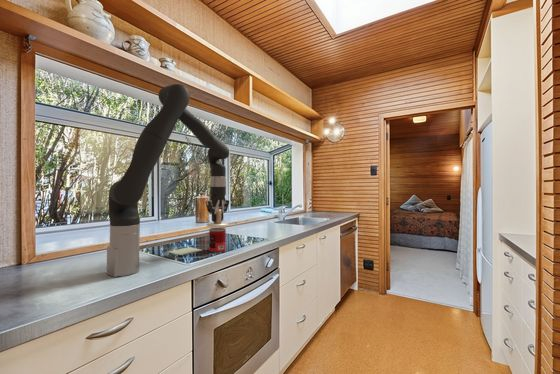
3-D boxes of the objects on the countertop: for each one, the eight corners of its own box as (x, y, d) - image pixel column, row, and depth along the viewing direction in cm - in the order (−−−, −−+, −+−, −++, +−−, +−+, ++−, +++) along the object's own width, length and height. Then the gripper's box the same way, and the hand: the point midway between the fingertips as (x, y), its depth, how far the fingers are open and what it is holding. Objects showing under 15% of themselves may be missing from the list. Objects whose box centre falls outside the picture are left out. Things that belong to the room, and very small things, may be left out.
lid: (216, 227, 117) (216, 210, 117) (202, 225, 123) (202, 209, 123) (232, 225, 125) (232, 209, 125) (218, 223, 131) (218, 208, 131)
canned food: (227, 249, 127) (227, 227, 128) (222, 253, 119) (222, 230, 120) (212, 249, 128) (212, 227, 128) (206, 253, 120) (206, 229, 120)
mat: (180, 256, 114) (180, 255, 114) (167, 253, 120) (167, 251, 120) (202, 251, 124) (202, 249, 124) (189, 248, 129) (189, 247, 129)
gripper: (211, 185, 116) (211, 223, 116) (233, 186, 128) (233, 220, 128) (201, 185, 120) (200, 222, 120) (223, 186, 132) (223, 219, 132)
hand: (217, 221), depth 124 cm, fingers closed on lid, 3 cm apart
